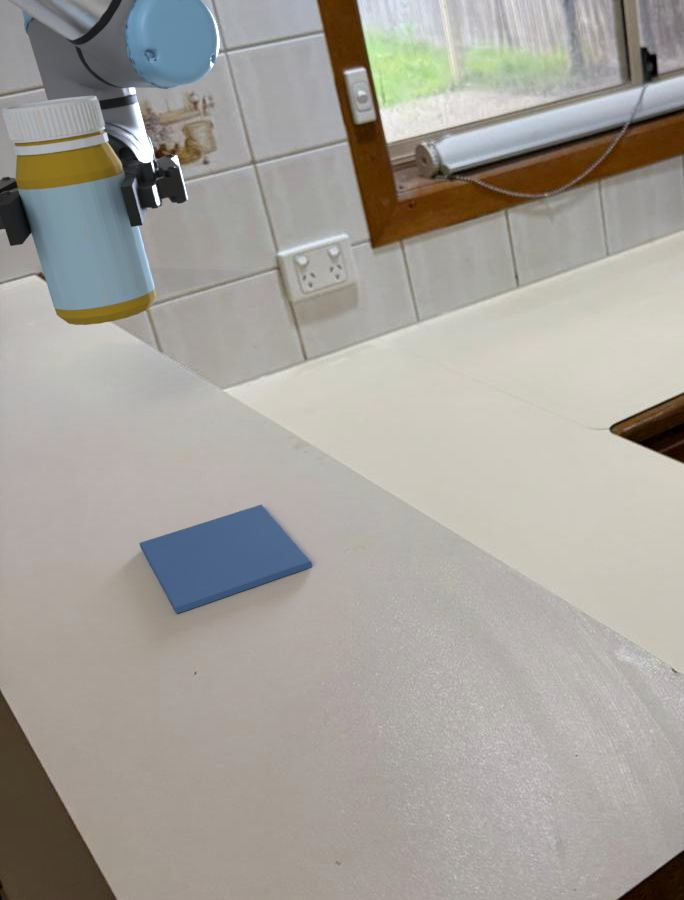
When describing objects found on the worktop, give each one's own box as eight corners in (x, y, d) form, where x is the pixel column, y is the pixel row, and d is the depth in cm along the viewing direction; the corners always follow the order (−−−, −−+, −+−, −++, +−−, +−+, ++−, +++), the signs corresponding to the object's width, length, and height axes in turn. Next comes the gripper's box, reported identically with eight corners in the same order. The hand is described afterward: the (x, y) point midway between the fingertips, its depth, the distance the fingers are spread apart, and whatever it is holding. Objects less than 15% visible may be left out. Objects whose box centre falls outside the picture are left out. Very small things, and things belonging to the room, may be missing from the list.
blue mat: (312, 567, 65) (310, 561, 64) (176, 614, 61) (174, 608, 61) (263, 509, 73) (261, 503, 72) (140, 548, 69) (139, 542, 69)
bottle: (104, 299, 88) (47, 98, 82) (178, 298, 86) (125, 92, 80) (37, 327, 82) (-30, 113, 76) (114, 327, 80) (52, 106, 74)
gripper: (-42, 144, 93) (-111, 182, 73) (210, 110, 98) (210, 136, 77) (-13, 235, 96) (-72, 296, 76) (230, 198, 101) (236, 245, 80)
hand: (71, 215), depth 77 cm, fingers closed on bottle, 7 cm apart
